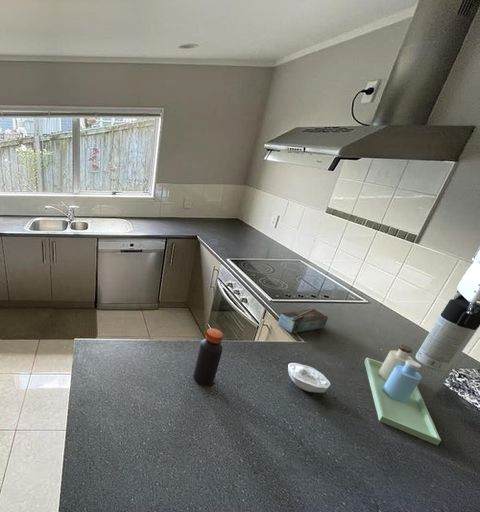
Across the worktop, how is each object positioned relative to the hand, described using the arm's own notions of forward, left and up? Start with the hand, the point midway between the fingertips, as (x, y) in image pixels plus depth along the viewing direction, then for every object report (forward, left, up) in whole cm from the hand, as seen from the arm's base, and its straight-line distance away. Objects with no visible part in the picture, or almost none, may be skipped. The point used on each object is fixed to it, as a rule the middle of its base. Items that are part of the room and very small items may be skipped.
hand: (459, 320), depth 74 cm
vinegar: (+54, +25, -36) cm, 69 cm away
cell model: (+25, +6, -36) cm, 44 cm away
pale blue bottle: (0, -8, -35) cm, 36 cm away
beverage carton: (+27, -35, -36) cm, 57 cm away
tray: (0, -7, -35) cm, 36 cm away
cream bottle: (0, -17, -35) cm, 39 cm away
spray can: (0, 0, -15) cm, 15 cm away
